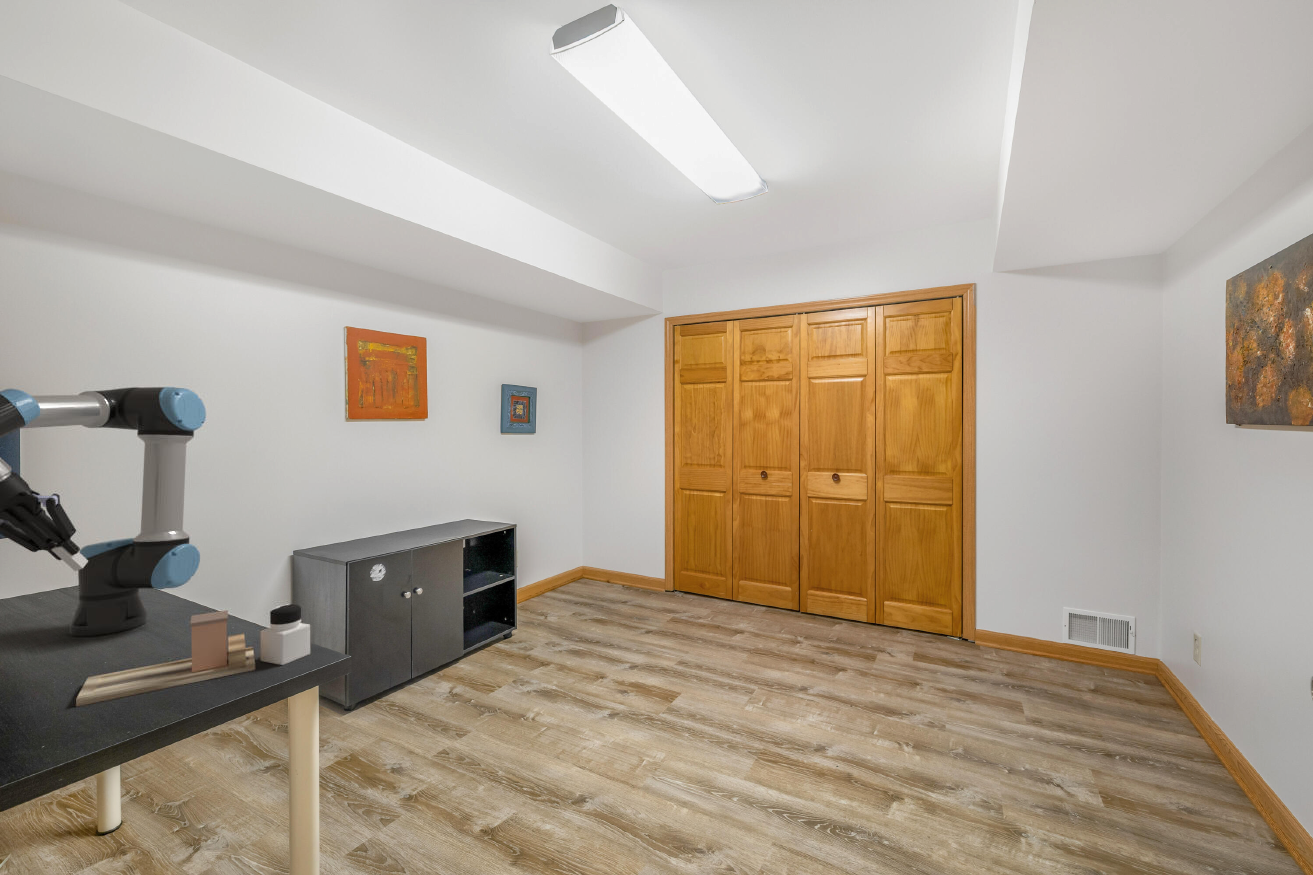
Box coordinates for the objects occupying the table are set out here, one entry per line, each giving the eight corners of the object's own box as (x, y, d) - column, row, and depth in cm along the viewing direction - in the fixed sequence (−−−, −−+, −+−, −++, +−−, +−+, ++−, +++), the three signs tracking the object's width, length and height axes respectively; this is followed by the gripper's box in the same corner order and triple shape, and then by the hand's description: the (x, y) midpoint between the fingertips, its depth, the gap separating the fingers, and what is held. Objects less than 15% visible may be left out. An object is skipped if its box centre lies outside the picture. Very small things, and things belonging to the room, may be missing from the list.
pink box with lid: (191, 663, 126) (191, 615, 126) (227, 656, 130) (227, 610, 130) (190, 672, 121) (190, 623, 121) (228, 665, 125) (227, 617, 125)
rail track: (88, 684, 118) (88, 660, 118) (253, 652, 135) (253, 631, 135) (76, 706, 109) (76, 680, 109) (255, 669, 126) (255, 647, 125)
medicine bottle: (311, 653, 135) (311, 603, 134) (282, 665, 128) (282, 612, 128) (289, 650, 137) (288, 600, 137) (259, 661, 130) (259, 609, 130)
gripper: (-61, 505, 108) (39, 590, 120) (16, 477, 110) (107, 563, 122) (-36, 486, 114) (57, 568, 126) (37, 460, 116) (121, 543, 129)
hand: (81, 565), depth 124 cm, fingers closed
